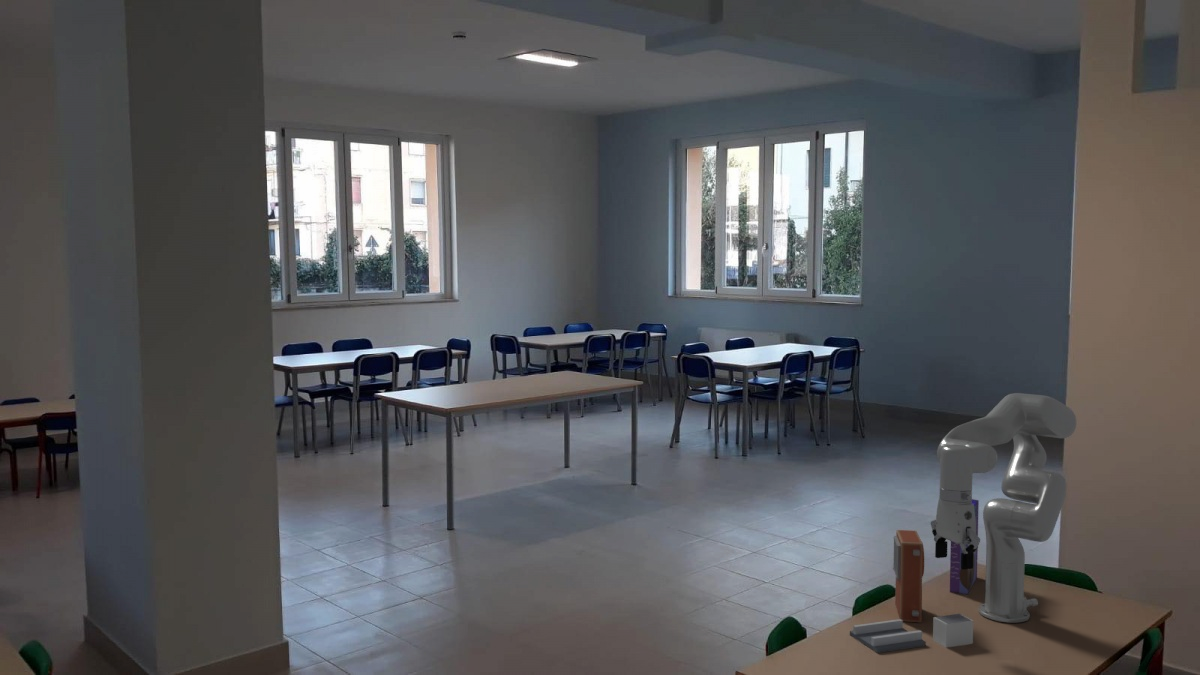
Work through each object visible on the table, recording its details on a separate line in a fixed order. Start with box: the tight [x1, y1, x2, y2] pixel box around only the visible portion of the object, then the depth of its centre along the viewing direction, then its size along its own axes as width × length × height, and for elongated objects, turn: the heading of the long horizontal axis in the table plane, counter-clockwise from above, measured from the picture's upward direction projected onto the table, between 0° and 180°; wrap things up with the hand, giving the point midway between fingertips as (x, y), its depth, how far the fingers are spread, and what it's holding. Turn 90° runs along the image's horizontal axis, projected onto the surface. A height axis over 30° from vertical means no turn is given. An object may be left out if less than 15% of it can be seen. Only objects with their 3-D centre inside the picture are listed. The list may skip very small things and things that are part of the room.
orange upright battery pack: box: [892, 529, 925, 623], centre depth 253 cm, size 21×7×15 cm
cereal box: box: [949, 498, 980, 596], centre depth 276 cm, size 17×5×24 cm, turn 149°
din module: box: [932, 613, 974, 649], centre depth 234 cm, size 8×5×6 cm, turn 107°
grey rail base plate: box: [849, 618, 927, 654], centre depth 236 cm, size 14×12×3 cm
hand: (953, 562), depth 233 cm, fingers open, 9 cm apart
